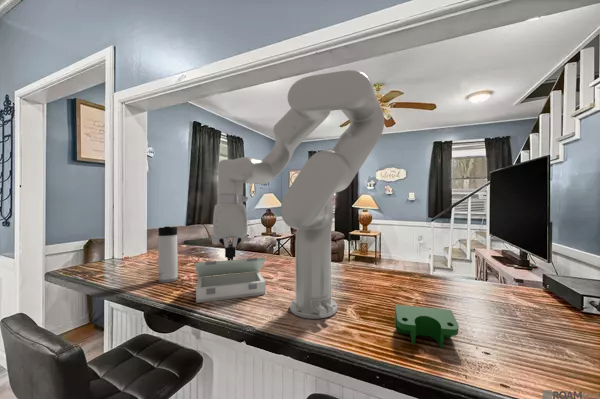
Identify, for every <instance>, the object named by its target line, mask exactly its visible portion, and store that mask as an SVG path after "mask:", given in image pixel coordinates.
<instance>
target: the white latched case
mask: <svg viewBox="0 0 600 399" xmlns="http://www.w3.org/2000/svg"><path fill="white" fill-rule="evenodd" d="M266 284H267V283H266V280H265V278H264V277H263V275H262V274H261V272H260V271H258V272H247V273H237V274H226V275H216V276H205V277H197V283H196V288H195V291H196V292H195V299H196V300H195V303H196V304H198V303H205V302H214V301H221V300H229V299H230V300H231V299H237V298H238V299H239V298H248V297H255V296H263V295H266V290H267V289H266Z"/></svg>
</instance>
